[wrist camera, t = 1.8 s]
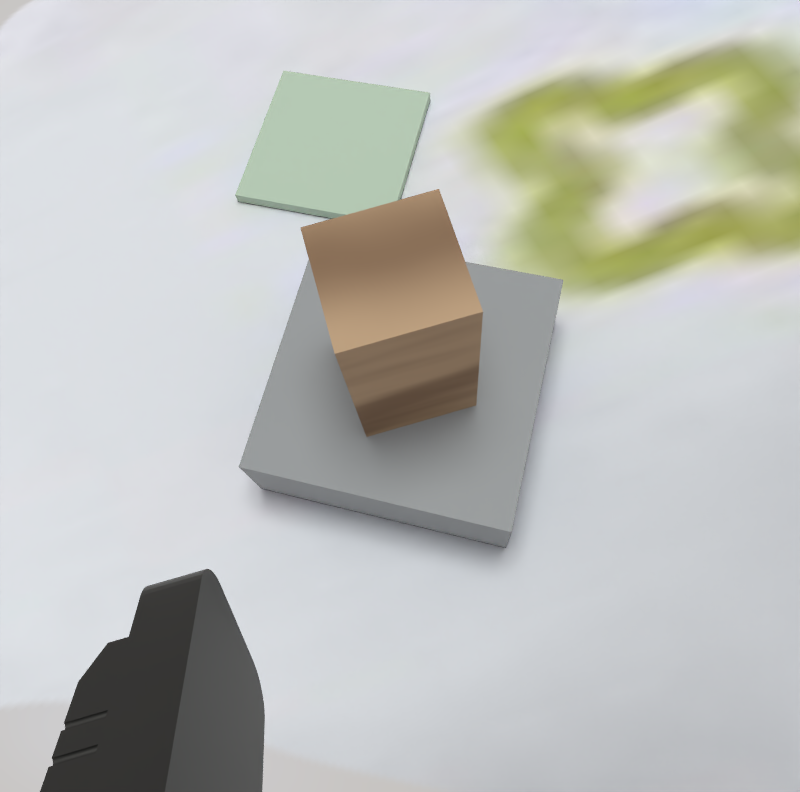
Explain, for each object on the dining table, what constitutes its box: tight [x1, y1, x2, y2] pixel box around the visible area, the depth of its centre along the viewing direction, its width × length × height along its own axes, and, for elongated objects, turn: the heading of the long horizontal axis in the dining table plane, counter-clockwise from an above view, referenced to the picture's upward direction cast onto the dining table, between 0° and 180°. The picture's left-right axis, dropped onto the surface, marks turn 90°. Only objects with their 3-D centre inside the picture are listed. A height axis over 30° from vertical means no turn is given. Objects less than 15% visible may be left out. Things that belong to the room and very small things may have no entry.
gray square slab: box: [239, 260, 563, 548], centre depth 35 cm, size 12×12×4 cm
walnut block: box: [301, 189, 483, 437], centre depth 29 cm, size 5×5×9 cm
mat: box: [236, 71, 430, 218], centre depth 43 cm, size 9×9×1 cm
